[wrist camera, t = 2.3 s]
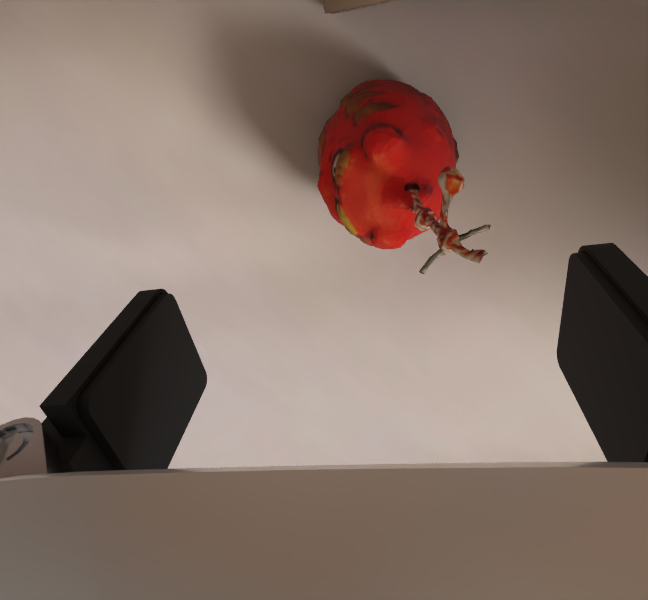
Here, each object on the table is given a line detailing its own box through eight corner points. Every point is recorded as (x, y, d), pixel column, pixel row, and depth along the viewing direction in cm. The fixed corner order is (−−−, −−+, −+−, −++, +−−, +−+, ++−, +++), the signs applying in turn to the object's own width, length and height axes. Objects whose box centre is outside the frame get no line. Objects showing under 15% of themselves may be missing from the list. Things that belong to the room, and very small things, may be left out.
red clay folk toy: (313, 88, 24) (225, 170, 11) (447, 57, 22) (518, 113, 10) (340, 219, 28) (297, 388, 15) (456, 201, 26) (515, 372, 14)
